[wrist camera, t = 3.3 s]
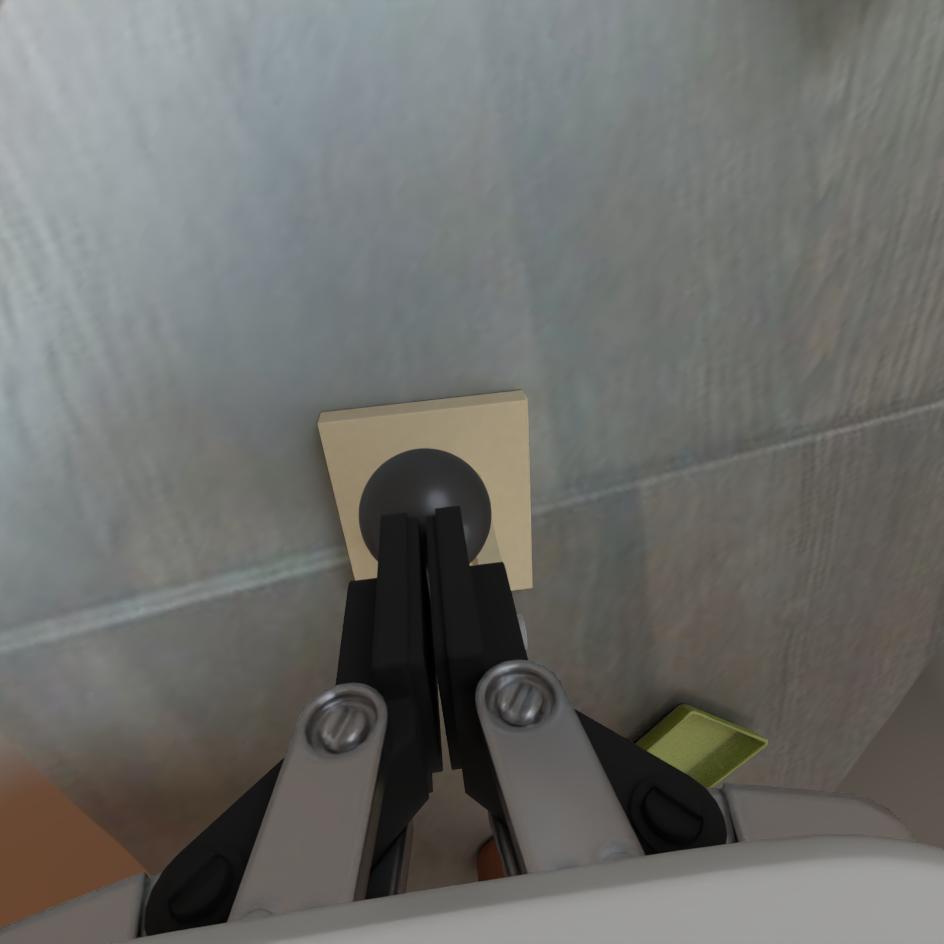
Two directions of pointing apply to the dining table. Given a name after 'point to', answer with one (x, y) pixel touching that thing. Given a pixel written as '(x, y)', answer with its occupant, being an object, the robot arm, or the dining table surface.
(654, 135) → the dining table surface
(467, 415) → the beige upright bracket
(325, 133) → the dining table surface
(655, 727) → the green square tray
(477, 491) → the lever
